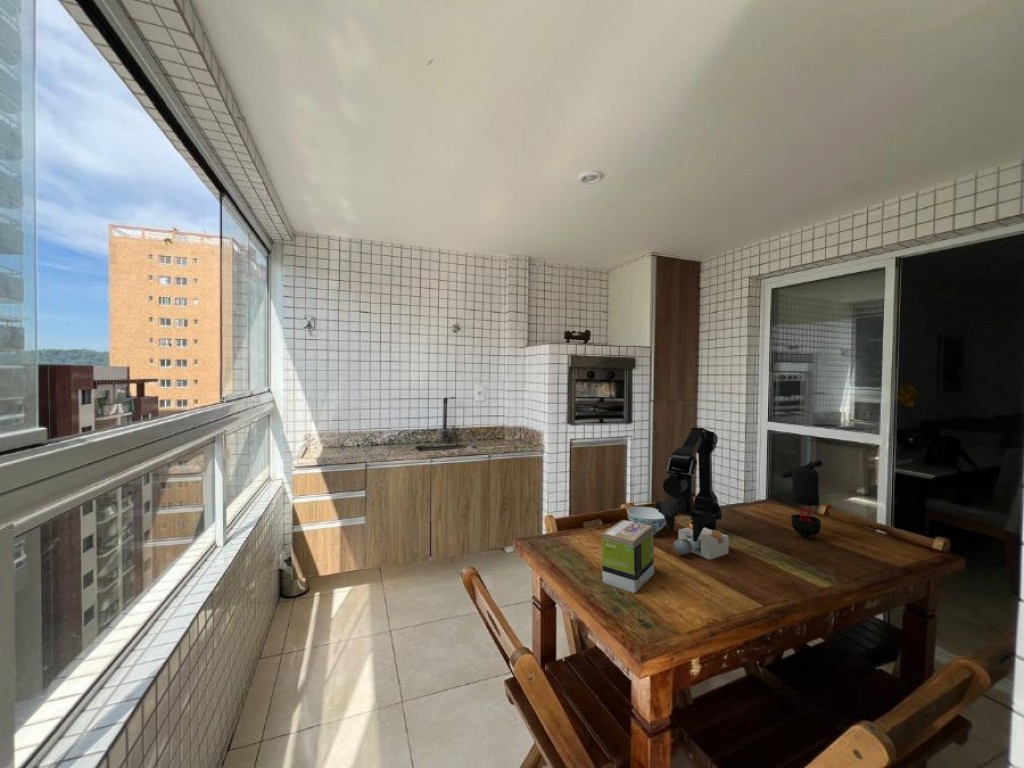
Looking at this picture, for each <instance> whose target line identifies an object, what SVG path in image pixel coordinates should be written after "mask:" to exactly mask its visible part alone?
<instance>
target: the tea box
mask: <svg viewBox="0 0 1024 768" xmlns="http://www.w3.org/2000/svg"><path fill="white" fill-rule="evenodd" d="M601 545H602V546H601V547H602V548H601V549H602V550H601V552H602V555H601V556H602V557H601V558H602V559H601V561H602V562H601V563H602V583H603V584H605V585H608V586H611V587H613V588H617V589H620V590H623V591H625V592H629V593H632V594H636V593H637V592H638V591H639V590H640V588H641V587H643V586H644V585H645V583H647V581H649V579H651V577H652V576H653V575H654V574H655V562H654V561H655V557H654V556H655V555H654V552H655V551H654V535H653V526H650V525H645V524H640V523H635V522H631V521H630V520H626V519H622V520H620V521H619V522H617V523H616V524H614V525H613V526H611V527H610V528H608V529H606V530H604V532H602V534H601Z"/></svg>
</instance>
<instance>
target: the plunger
mask: <svg viewBox="0 0 1024 768" xmlns="http://www.w3.org/2000/svg"><path fill="white" fill-rule="evenodd" d="M721 533H722V531H720V530H712V537H714V538H717V539H718V541H720V540H721Z"/></svg>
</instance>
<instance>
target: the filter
mask: <svg viewBox="0 0 1024 768" xmlns="http://www.w3.org/2000/svg"><path fill="white" fill-rule="evenodd" d="M821 466H823V462H822V461H821V460H820V459H818V460H816V461H813V462H812V461H809V462H808V464H805V465H802V466H798V467H795V468H789V469H788V471H784V472H783V473H781V475H782V477H783V478H784V479H785V478H789V477H790V478H791V479H792V481H791V482H792V491H791V501H792V502H793V503H795V504H798V505H800V507H799V508H798V510H799V511H800V512H799V514H796V513H795V514H791V516H790V519H791V521H790V522H791V526H792V528H793V529H794V531H795V532H796V533H799V534H800V535H801V538H802V539H804V540H810V539H811V536H816V535H818V534H819V533H820V531H821V524H822V522H821V521H822V520H821V519H819V518H818V517H815V516H813V515H811V512H812V509H811V507H812V506H814V507H815V506H819V505H820V494H819V493H820V492H819V486H820V483H819V482H820V481H819V479H820V477H819V476H820V475H819V474H820V473H819V472H818V471H817V470H816V469H815V468H820V467H821ZM805 507H808V508H805ZM804 512H806V513H804Z"/></svg>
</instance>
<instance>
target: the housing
mask: <svg viewBox="0 0 1024 768" xmlns="http://www.w3.org/2000/svg"><path fill="white" fill-rule="evenodd" d="M692 537H693V530H692V529H689V527H684V528H680V529H678V540H679V539H683V538H685V539H688V538H692ZM698 539H699V540H701V548H699V549H695V550H692V551H691V552H690V553H692V554H695V555H698V556H701V557H702V558H705V559H708V560H709V561H710V560H712V559H716V558H719V557H722V556H725V555H729V535H727V534H724V533H722V532H721V540H720V541H718V539H717V538H714V537H712V530H710V529H707V528H703V530H702V532H701V534H700V536H699V537H698Z"/></svg>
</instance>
